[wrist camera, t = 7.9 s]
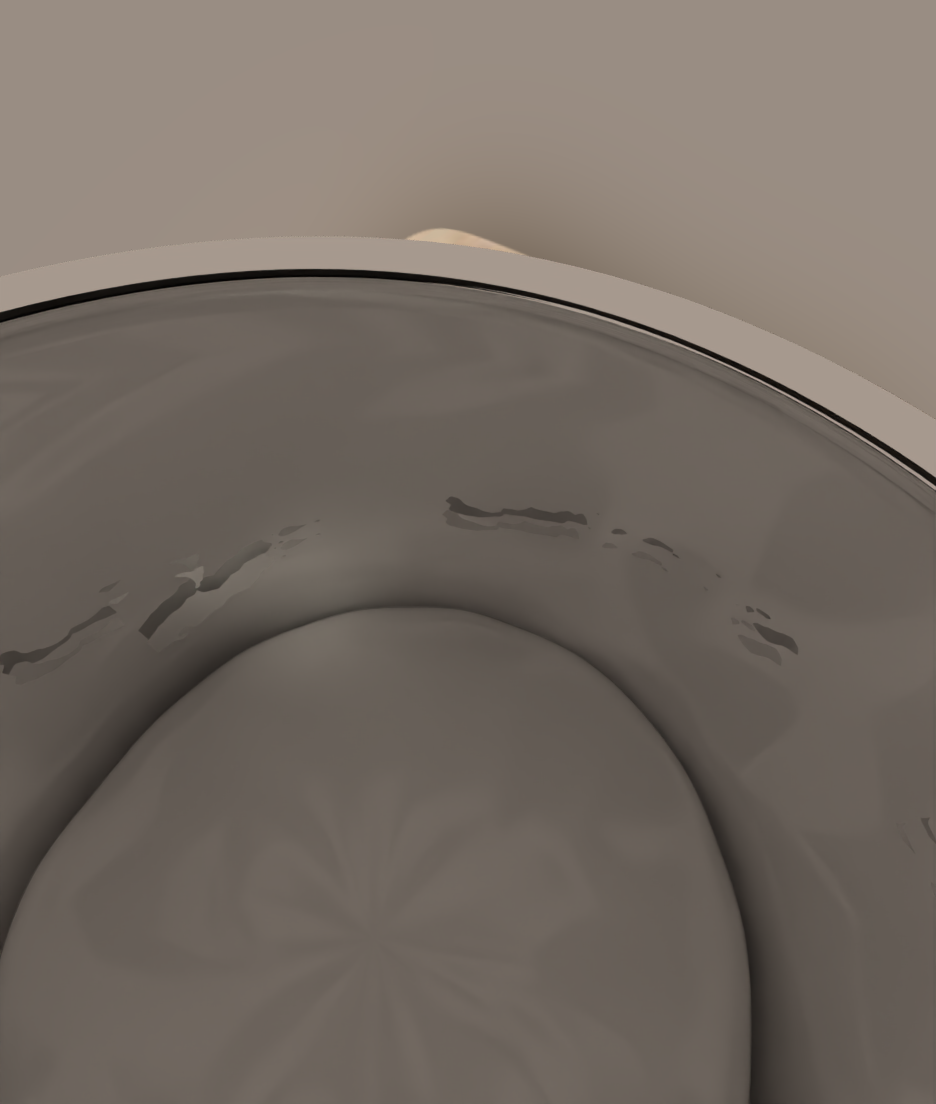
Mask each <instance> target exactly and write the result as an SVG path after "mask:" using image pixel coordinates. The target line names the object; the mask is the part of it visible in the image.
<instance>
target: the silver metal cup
mask: <svg viewBox="0 0 936 1104" xmlns="http://www.w3.org/2000/svg"><path fill="white" fill-rule="evenodd" d="M0 1104H936V419H935V418H933V417H931V416H929V415H928V414H926V413H925V412H923V411H921V410H919V409H918V408H916V407H914V406H913V405H911V404H909V403H908V402H906V401H904V400H903V399H901V398H899V397H897V396H896V395H894V394H892V393H890V392H888V391H887V390H885V389H883V388H881V387H879V386H878V385H876V384H874V383H872V382H870V381H868V380H866V379H865V378H863V377H861V376H859V375H857V374H855V373H853V372H851V371H849V370H848V369H845V368H844V367H842V366H840V365H838V364H836V363H834V362H832V361H830V360H828V359H826V358H824V357H822V356H820V355H818V354H816V353H814V352H812V351H810V350H807V349H805V348H803V347H801V346H799V345H797V344H795V343H793V342H791V341H789V340H786V339H784V338H782V337H780V336H777V335H775V334H773V333H771V332H768V331H766V330H764V329H761V328H759V327H757V326H754V325H752V324H750V323H747V322H744V321H742V320H740V319H737V318H735V317H732V316H730V315H727V314H725V313H722V312H719V311H717V310H714V309H712V308H709V307H706V306H704V305H701V304H698V303H696V302H693V301H690V300H687V299H684V298H681V297H678V296H675V295H673V294H670V293H666V292H664V291H661V290H657V289H654V288H651V287H648V286H645V285H642V284H639V283H635V282H632V281H628V280H625V279H621V278H618V277H614V276H611V275H607V274H603V273H599V272H595V271H592V270H588V269H584V268H579V267H575V266H571V265H567V264H562V263H558V262H553V261H549V260H544V259H539V258H534V257H529V256H524V255H519V254H513V253H508V252H502V251H496V250H490V249H483V248H476V247H469V246H462V245H454V244H445V243H436V242H426V241H414V240H403V239H387V238H370V237H338V236H337V237H335V236H330V237H329V236H328V237H326V236H324V237H323V236H320V237H319V236H307V237H269V238H247V239H232V240H219V241H208V242H197V243H188V244H179V245H170V246H162V247H154V248H148V249H141V250H134V251H127V252H121V253H114V254H108V255H102V256H96V257H91V258H85V259H80V260H74V261H70V262H64V263H59V264H54V265H50V266H45V267H40V268H35V269H31V270H26V271H22V272H18V273H14V274H9V275H5V276H0Z"/></svg>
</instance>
